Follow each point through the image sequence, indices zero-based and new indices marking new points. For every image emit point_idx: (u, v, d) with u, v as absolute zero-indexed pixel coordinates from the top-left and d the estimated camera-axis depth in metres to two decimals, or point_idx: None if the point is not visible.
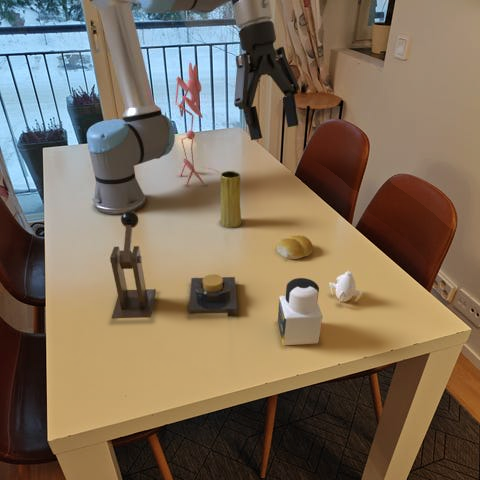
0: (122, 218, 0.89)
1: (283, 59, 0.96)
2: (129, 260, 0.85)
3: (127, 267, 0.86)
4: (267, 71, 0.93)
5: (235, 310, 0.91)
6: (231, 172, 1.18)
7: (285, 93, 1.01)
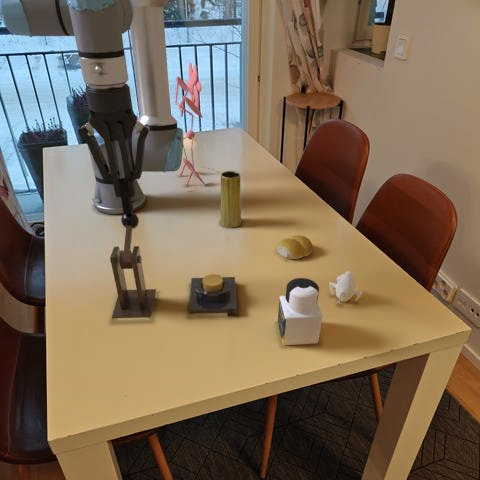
0: (122, 219, 0.90)
1: (138, 138, 0.80)
2: (129, 260, 0.85)
3: (127, 267, 0.86)
4: (114, 139, 0.80)
5: (235, 310, 0.91)
6: (231, 172, 1.18)
7: None
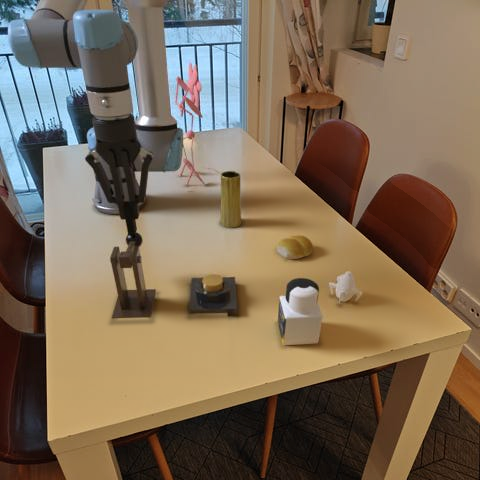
0: (127, 236, 0.93)
1: (142, 165, 0.83)
2: (129, 256, 0.85)
3: (126, 265, 0.85)
4: (119, 165, 0.83)
5: (235, 310, 0.91)
6: (231, 172, 1.18)
7: None
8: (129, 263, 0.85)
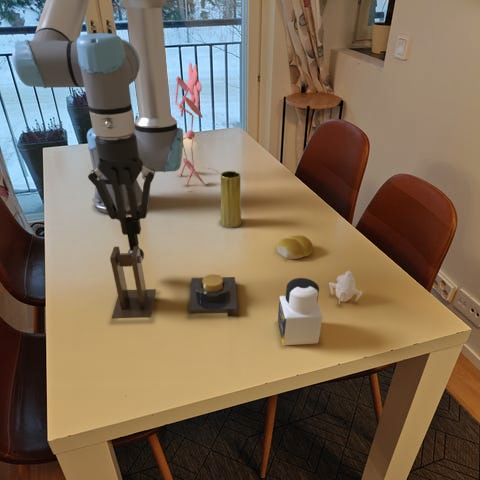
0: (129, 250, 0.95)
1: (144, 183, 0.85)
2: (129, 254, 0.85)
3: (126, 263, 0.85)
4: (121, 183, 0.85)
5: (235, 310, 0.91)
6: (231, 172, 1.18)
7: None
8: (129, 261, 0.85)
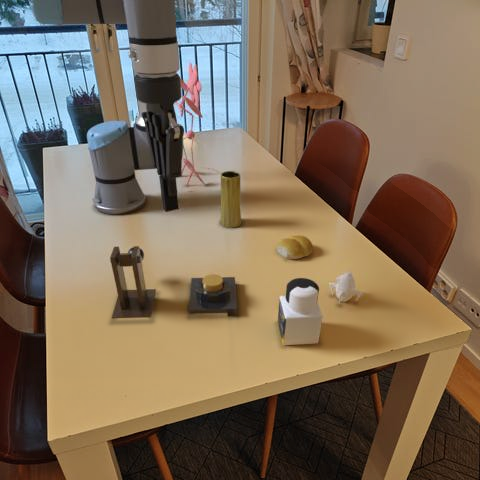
0: (129, 250, 0.95)
1: (167, 137, 0.73)
2: (129, 254, 0.85)
3: (126, 263, 0.85)
4: None
5: (235, 310, 0.91)
6: (231, 172, 1.18)
7: None
8: (129, 261, 0.85)
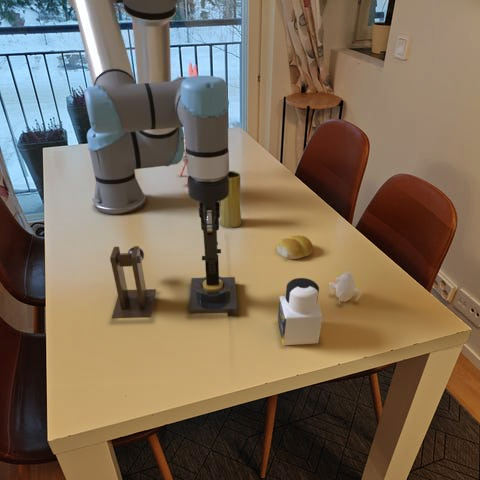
0: (129, 250, 0.95)
1: None
2: (129, 254, 0.85)
3: (126, 263, 0.85)
4: None
5: (235, 310, 0.91)
6: (231, 172, 1.18)
7: None
8: (129, 261, 0.85)
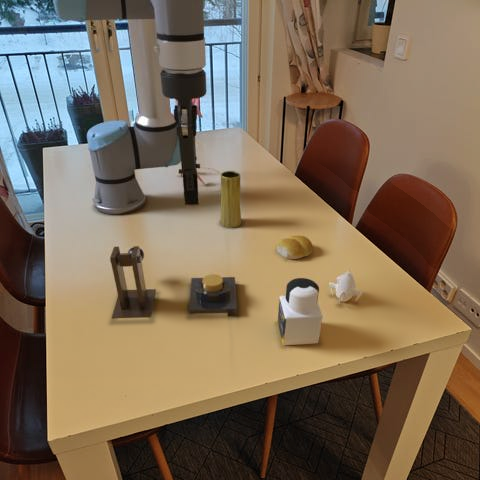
0: (129, 250, 0.95)
1: None
2: (129, 254, 0.85)
3: (126, 263, 0.85)
4: None
5: (235, 310, 0.91)
6: (231, 172, 1.18)
7: None
8: (129, 261, 0.85)
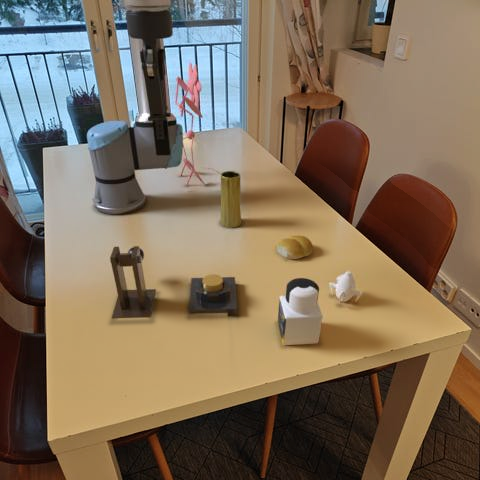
0: (129, 250, 0.95)
1: None
2: (129, 254, 0.85)
3: (126, 263, 0.85)
4: None
5: (235, 310, 0.91)
6: (231, 172, 1.18)
7: None
8: (129, 261, 0.85)
